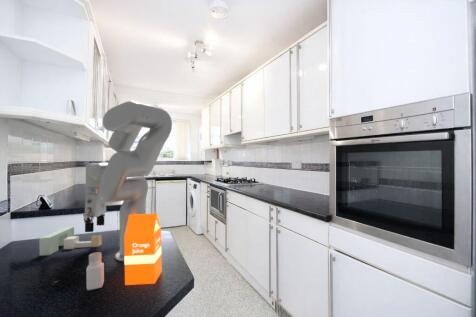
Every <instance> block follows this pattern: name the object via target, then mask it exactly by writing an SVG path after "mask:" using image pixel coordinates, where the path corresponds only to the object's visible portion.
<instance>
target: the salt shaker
mask: <svg viewBox="0 0 476 317" xmlns="http://www.w3.org/2000/svg"><path fill="white" fill-rule="evenodd" d="M102 257H103V256H102V252H100V251H97V252H92V253H90V254H89V255H88V265H87V267H86V275H85V276H86V279H85V280H86V290H87V291H92V290H96V289H101V288H102V287H103V285H104V283H105V263H104V262H102Z"/></svg>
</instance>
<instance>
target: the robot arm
mask: <svg viewBox="0 0 476 317" xmlns="http://www.w3.org/2000/svg"><path fill="white" fill-rule="evenodd" d="M102 125H103V127H104V129H105V130H107V131H109V132H112V134H111V136H110V138H109V140H108V145H109V147H110V149H112V150H113V151H115V153H114V154H112V155H111V156H110V158H109V159H108V162H89V163H86V165H85V203H84V204H85V205H84V213H83V214H82V218H83V223H84V232H85V233H93V232H94V227H95V226H94V223H95V222H94V219H95V218H96V226H104V225H105V217H106V212H107V203H116V202H117V203H119V202H122V201H123V202H122V204H121V206H120V207H119V208H120V209H119V215H118V216H119V217H118V218H119V251H118V252H117V253H115V255H114V256H115V259H116V261H120V262H124V256H125V250H124V235H125V231H126V227H127V222H128V218H129V215H132V214H147V212H146V211H147V195H148V190H149V183H148V181H147V179H146V178H145V177H144V176H148V175H150V174H151V172H152V171H153V170H154V167H155V164H156V162H157V161H158V158H159V155H160V153H161V151H162V150H163V149H162V148H163V147H164V145H165V143H166V142H167V140H168V139H169V137H170V135H171V132H172V129H173V128H172V127H173V121H172V117H171V115H170V113H168V111H167V110H165V109H164V108H161V107H159V106H154V105H152V104H147V103H143V102H140V101H139V102H138V101H134V100H129V101H124V102H122V103H120V104H118V105H115V106H112V107H111V108H110V109H108V110H107V111H106V112H105V113H104V115H103V117H102ZM142 128H147V129H149V130H148V131H146V133H144V134H143V135H142V136H141V137H140V138H139V141H138V142H137V145H136V147H135V148H134V150H131V149H132V146H133V145H134V143H135V141H136V139H137V137H138V135H139V134H140V132H141V130H142Z"/></svg>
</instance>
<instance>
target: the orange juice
mask: <svg viewBox="0 0 476 317" xmlns="http://www.w3.org/2000/svg"><path fill="white" fill-rule="evenodd" d="M124 250H125V256H124V261H123V263H124V285H125V286H132V285H133V286H135V285H149V284H150V285H151V284H152V285H153V284H156V282H157V281H158V279H159V277H160V276H161V274H162V271H163V270H162V269H163V268H162V261H163V260H162V254H163V253H162V227H161V224H160V221H159V217H158V213H146V214H132V215H129V218H128V222H127V227H126V231H125V235H124Z"/></svg>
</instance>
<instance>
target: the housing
mask: <svg viewBox="0 0 476 317" xmlns="http://www.w3.org/2000/svg"><path fill="white" fill-rule="evenodd" d="M72 236H75V227H74V226H65V227H62V228H60V229H58V230H55V231H54V232H51V233H49V234H47V235H44V236H43V235H42V236H41V237H39V242H38V243H39V246H38V248H39V256H52V254H55V253H56V252H58V251H59V250H60V249H59V247H64V239H66V238H68V237H72Z"/></svg>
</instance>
